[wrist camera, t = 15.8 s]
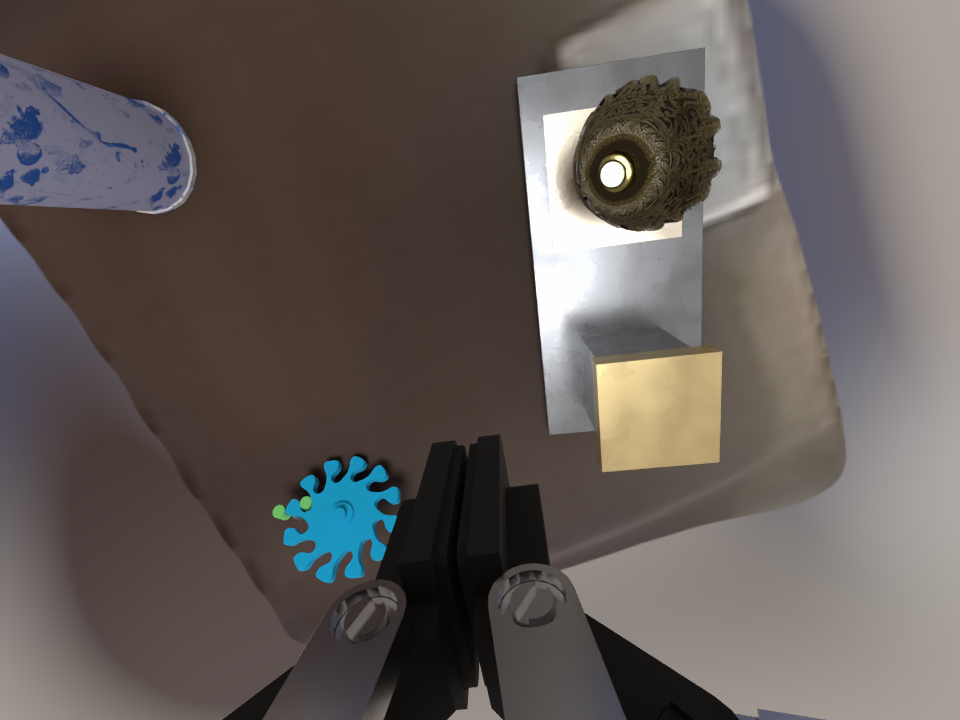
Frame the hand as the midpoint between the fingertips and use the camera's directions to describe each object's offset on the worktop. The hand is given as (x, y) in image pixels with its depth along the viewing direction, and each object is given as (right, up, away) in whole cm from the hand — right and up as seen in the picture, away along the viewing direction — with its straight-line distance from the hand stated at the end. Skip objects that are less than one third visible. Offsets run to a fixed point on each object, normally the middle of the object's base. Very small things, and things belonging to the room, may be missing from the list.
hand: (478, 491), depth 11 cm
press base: (+10, +10, +23) cm, 27 cm away
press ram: (+11, +2, +23) cm, 26 cm away
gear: (-12, -9, +30) cm, 33 cm away
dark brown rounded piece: (+9, +16, +20) cm, 27 cm away
